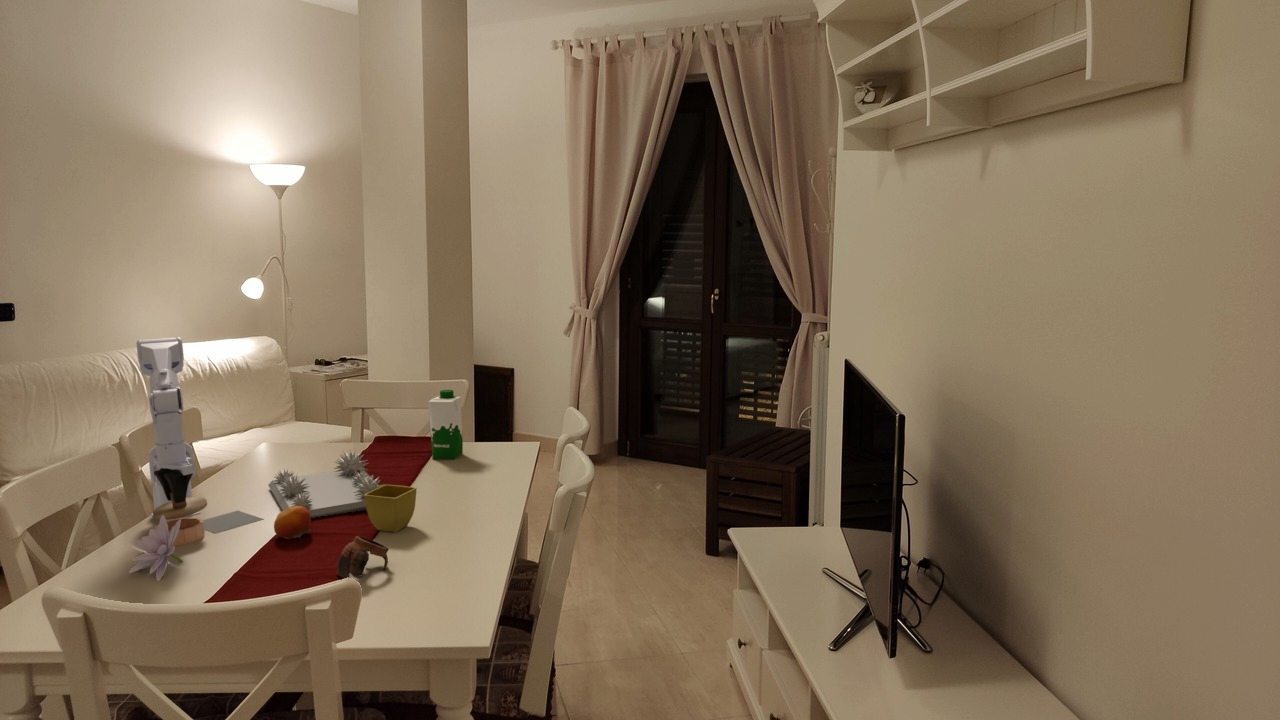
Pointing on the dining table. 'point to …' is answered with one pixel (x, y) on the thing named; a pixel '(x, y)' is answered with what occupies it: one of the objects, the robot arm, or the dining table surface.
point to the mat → (229, 521)
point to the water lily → (157, 548)
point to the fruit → (292, 522)
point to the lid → (180, 508)
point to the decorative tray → (326, 488)
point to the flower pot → (390, 506)
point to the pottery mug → (359, 556)
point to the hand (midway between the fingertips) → (176, 500)
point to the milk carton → (446, 426)
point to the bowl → (187, 530)
